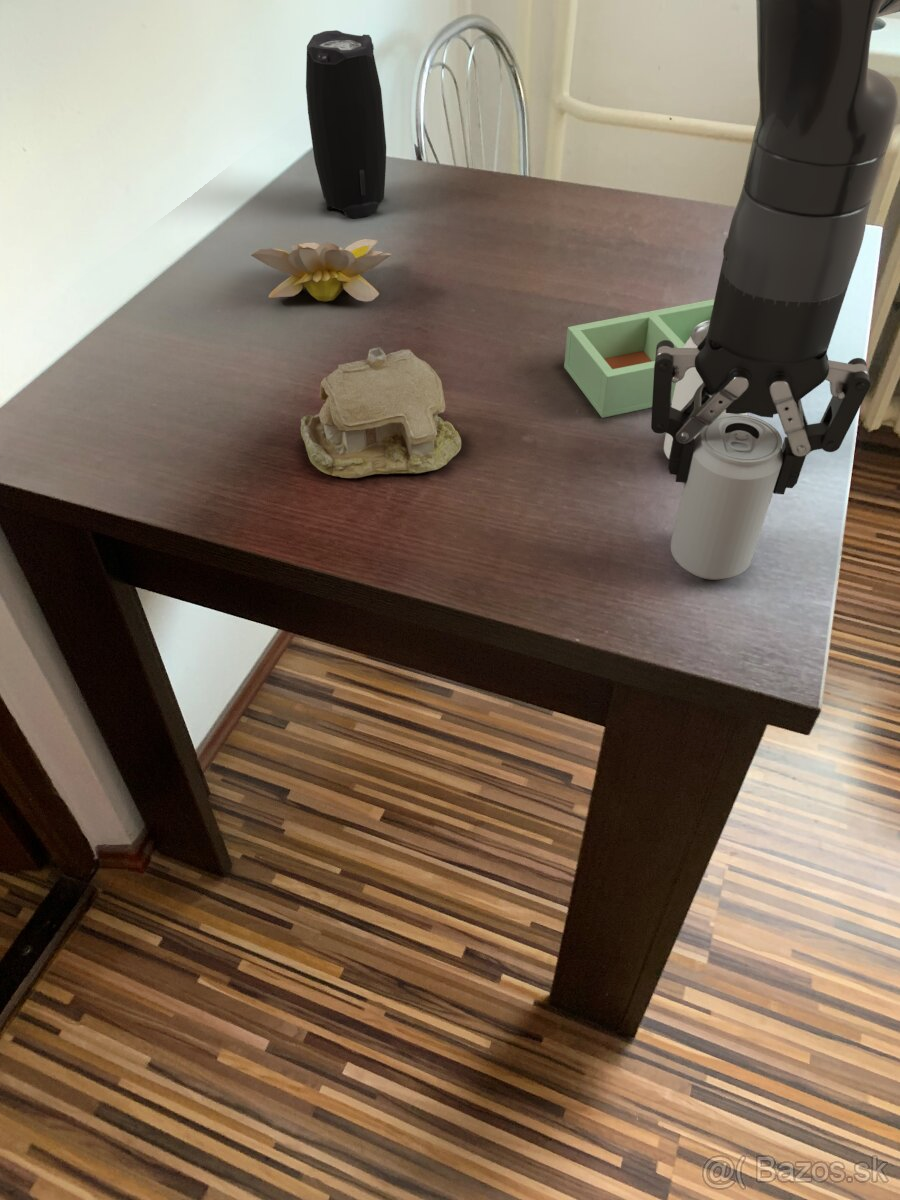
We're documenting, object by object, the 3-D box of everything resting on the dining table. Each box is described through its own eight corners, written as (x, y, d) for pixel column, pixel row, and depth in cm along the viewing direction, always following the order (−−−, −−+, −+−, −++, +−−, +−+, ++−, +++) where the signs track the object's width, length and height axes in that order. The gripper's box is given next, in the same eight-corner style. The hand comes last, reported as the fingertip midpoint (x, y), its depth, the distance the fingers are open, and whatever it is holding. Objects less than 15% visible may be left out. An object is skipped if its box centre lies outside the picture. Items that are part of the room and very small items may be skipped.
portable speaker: (323, 193, 121) (303, 29, 107) (391, 192, 121) (380, 27, 107) (317, 221, 115) (295, 50, 101) (389, 219, 115) (377, 48, 101)
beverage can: (754, 539, 72) (792, 417, 64) (745, 593, 68) (784, 471, 60) (675, 524, 74) (702, 402, 65) (662, 575, 70) (688, 453, 61)
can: (741, 476, 79) (775, 357, 70) (668, 477, 79) (693, 358, 70) (727, 432, 83) (757, 315, 74) (657, 433, 83) (679, 316, 74)
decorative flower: (407, 252, 105) (392, 175, 96) (395, 320, 100) (379, 245, 91) (286, 256, 107) (261, 182, 99) (268, 323, 102) (240, 250, 93)
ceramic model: (433, 398, 88) (430, 304, 80) (474, 463, 80) (475, 368, 73) (295, 429, 84) (278, 335, 77) (325, 501, 77) (309, 404, 70)
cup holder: (765, 383, 88) (776, 342, 85) (602, 418, 85) (607, 376, 81) (717, 336, 94) (726, 296, 91) (563, 367, 91) (567, 326, 88)
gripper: (662, 286, 52) (627, 502, 64) (921, 307, 50) (834, 527, 62) (668, 230, 57) (635, 440, 69) (903, 247, 55) (826, 461, 67)
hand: (729, 481), depth 66 cm, fingers closed on beverage can, 6 cm apart
